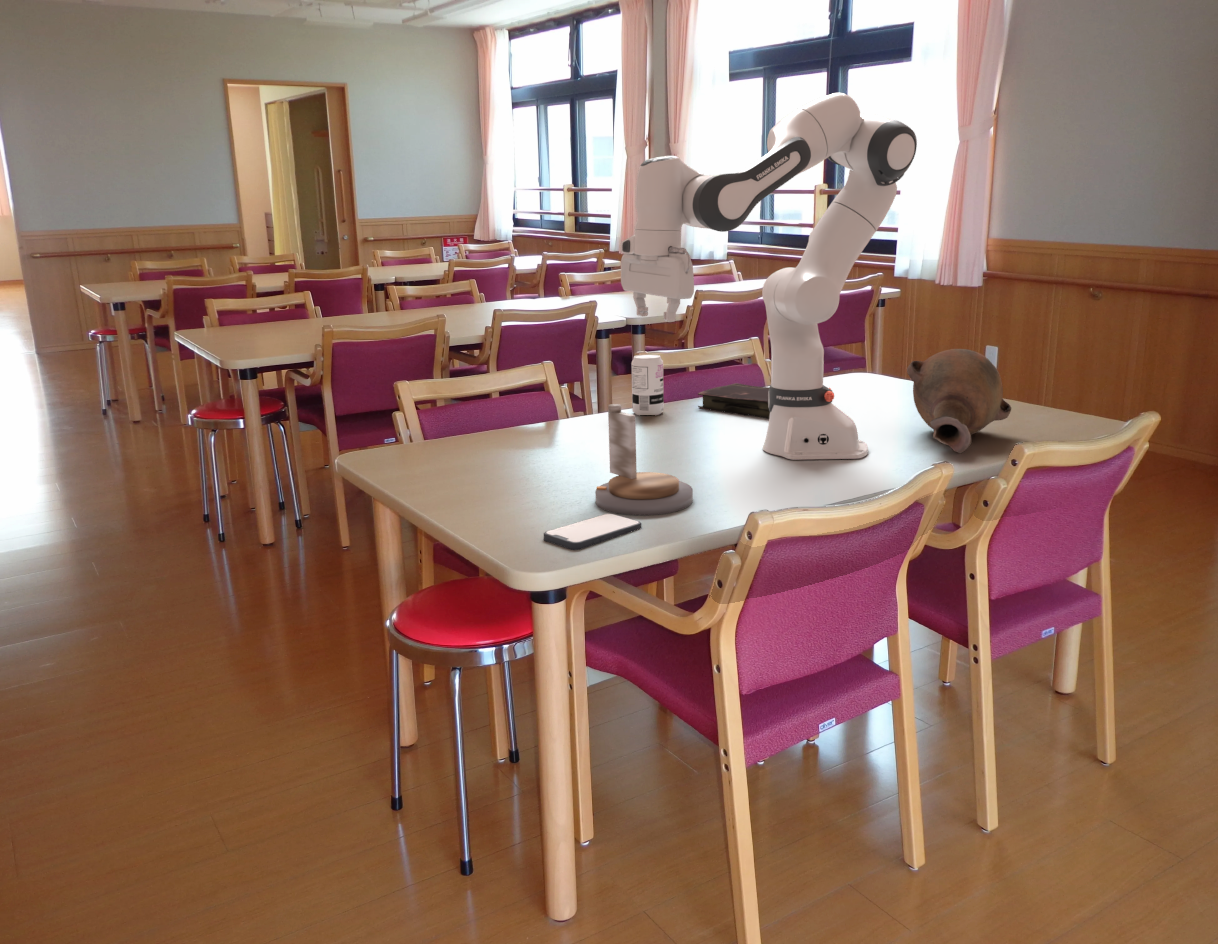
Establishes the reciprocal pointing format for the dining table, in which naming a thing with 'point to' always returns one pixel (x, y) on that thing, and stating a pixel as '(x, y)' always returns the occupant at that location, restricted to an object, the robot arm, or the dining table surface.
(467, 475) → the dining table surface
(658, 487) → the dial
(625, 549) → the dining table surface
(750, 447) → the dining table surface
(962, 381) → the jug
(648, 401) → the supplement can
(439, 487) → the dining table surface
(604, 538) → the smartphone
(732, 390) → the diary
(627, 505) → the dial base
